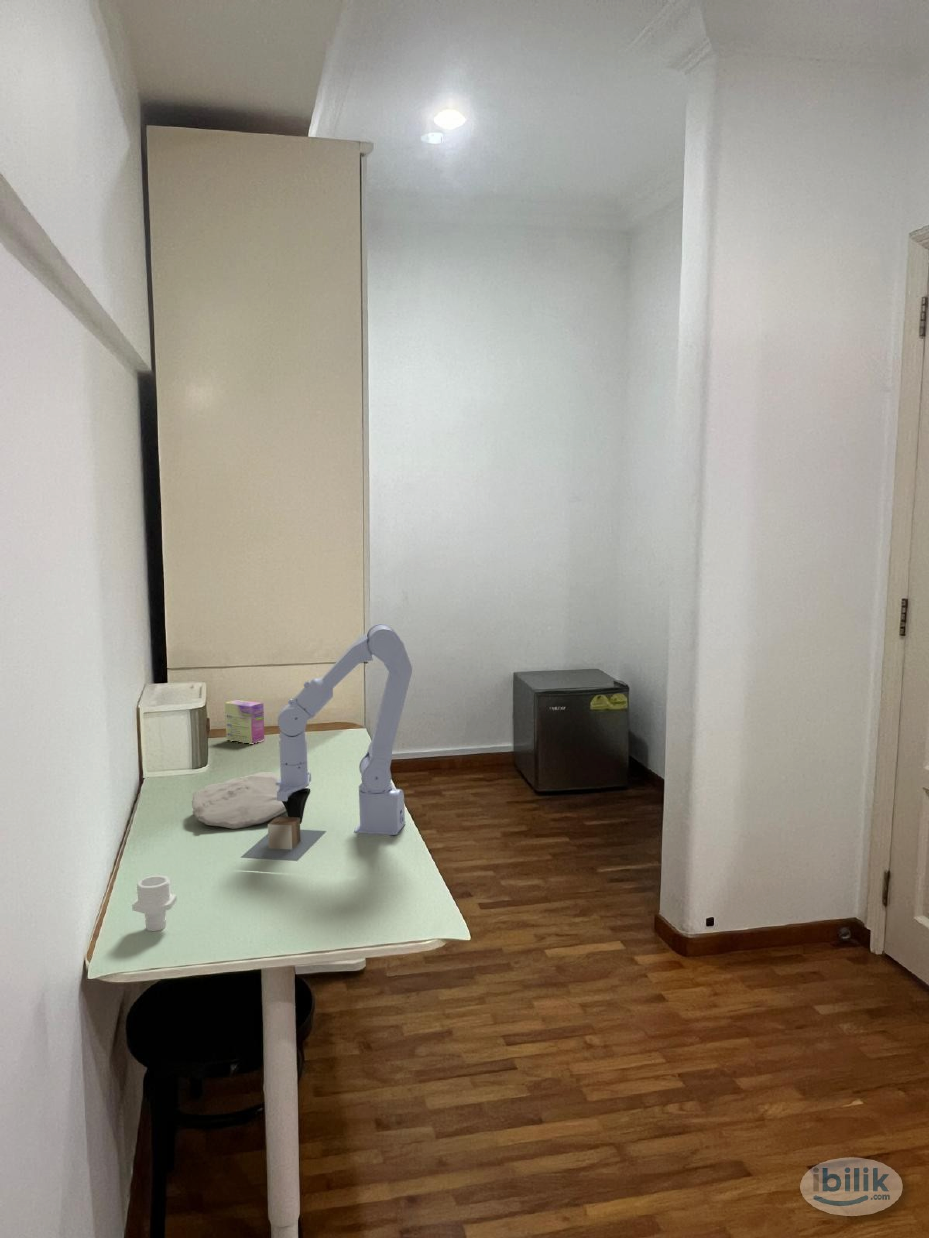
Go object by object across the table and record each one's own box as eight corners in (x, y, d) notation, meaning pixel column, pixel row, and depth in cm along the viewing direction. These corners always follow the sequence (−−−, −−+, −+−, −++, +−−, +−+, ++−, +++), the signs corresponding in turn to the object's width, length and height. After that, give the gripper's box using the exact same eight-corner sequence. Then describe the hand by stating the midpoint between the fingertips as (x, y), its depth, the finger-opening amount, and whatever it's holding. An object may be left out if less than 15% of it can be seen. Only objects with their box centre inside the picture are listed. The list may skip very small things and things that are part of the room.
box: (265, 740, 281) (263, 702, 280) (252, 745, 277) (250, 705, 275) (239, 737, 287) (237, 699, 285) (226, 741, 282) (224, 702, 280)
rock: (304, 787, 234) (290, 838, 204) (210, 790, 232) (182, 843, 203) (302, 757, 232) (288, 805, 203) (207, 760, 231) (179, 809, 201)
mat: (326, 832, 202) (326, 830, 202) (297, 861, 185) (297, 860, 185) (274, 829, 204) (273, 828, 204) (240, 858, 187) (240, 857, 187)
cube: (299, 817, 195) (290, 825, 190) (300, 840, 196) (291, 849, 191) (276, 816, 196) (267, 824, 191) (277, 839, 197) (268, 848, 192)
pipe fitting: (182, 929, 156) (179, 883, 156) (137, 939, 153) (134, 892, 152) (173, 915, 162) (170, 870, 161) (130, 924, 158) (127, 879, 157)
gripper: (288, 752, 207) (290, 811, 208) (262, 770, 193) (264, 834, 194) (319, 753, 205) (321, 813, 207) (294, 771, 191) (296, 836, 193)
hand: (295, 823), depth 201 cm, fingers closed
